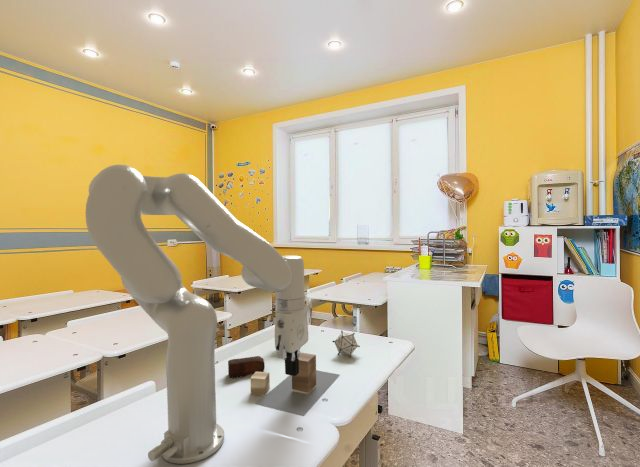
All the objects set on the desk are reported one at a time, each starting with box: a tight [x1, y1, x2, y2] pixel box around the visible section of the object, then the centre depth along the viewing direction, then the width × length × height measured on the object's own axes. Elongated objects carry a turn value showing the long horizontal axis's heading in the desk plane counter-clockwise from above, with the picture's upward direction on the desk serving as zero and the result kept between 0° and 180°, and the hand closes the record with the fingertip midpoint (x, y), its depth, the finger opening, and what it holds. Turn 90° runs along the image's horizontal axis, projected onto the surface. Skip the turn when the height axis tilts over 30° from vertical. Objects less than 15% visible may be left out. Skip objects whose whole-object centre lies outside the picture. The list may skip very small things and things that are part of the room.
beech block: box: [250, 371, 271, 397], centre depth 94 cm, size 4×4×5 cm
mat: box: [255, 369, 341, 417], centre depth 96 cm, size 24×14×1 cm, turn 155°
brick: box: [227, 355, 266, 379], centre depth 107 cm, size 11×4×5 cm, turn 111°
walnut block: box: [292, 352, 317, 395], centre depth 95 cm, size 5×5×9 cm
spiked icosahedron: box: [332, 330, 361, 358], centre depth 120 cm, size 9×8×10 cm
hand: (292, 373), depth 89 cm, fingers closed
